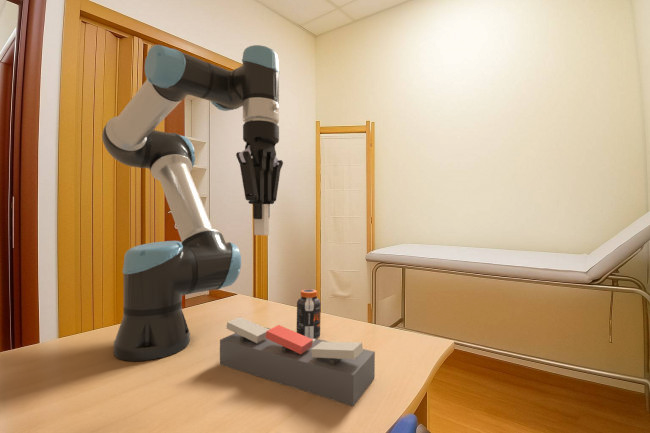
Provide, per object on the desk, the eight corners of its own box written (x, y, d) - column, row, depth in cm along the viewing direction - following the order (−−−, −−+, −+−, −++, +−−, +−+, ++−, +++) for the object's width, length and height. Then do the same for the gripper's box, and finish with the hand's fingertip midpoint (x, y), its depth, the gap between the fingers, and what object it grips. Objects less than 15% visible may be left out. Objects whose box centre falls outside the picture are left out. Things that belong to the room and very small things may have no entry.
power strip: (219, 364, 65) (219, 335, 65) (253, 346, 74) (253, 320, 74) (353, 406, 51) (353, 369, 51) (374, 378, 60) (374, 346, 60)
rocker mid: (265, 338, 61) (266, 330, 61) (277, 331, 65) (278, 324, 64) (300, 354, 58) (302, 346, 57) (311, 346, 61) (312, 339, 61)
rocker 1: (226, 328, 66) (227, 322, 66) (239, 323, 69) (240, 316, 69) (256, 343, 62) (257, 336, 62) (269, 336, 66) (270, 329, 65)
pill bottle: (317, 341, 77) (317, 293, 77) (293, 339, 79) (293, 292, 78) (322, 332, 83) (323, 288, 83) (300, 330, 84) (300, 287, 84)
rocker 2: (312, 357, 56) (311, 349, 57) (322, 349, 60) (321, 341, 60) (354, 359, 53) (353, 350, 53) (362, 350, 56) (361, 342, 56)
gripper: (255, 112, 62) (255, 237, 61) (292, 129, 73) (293, 233, 73) (225, 118, 65) (225, 236, 65) (266, 133, 77) (266, 233, 77)
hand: (261, 234), depth 69 cm, fingers closed
